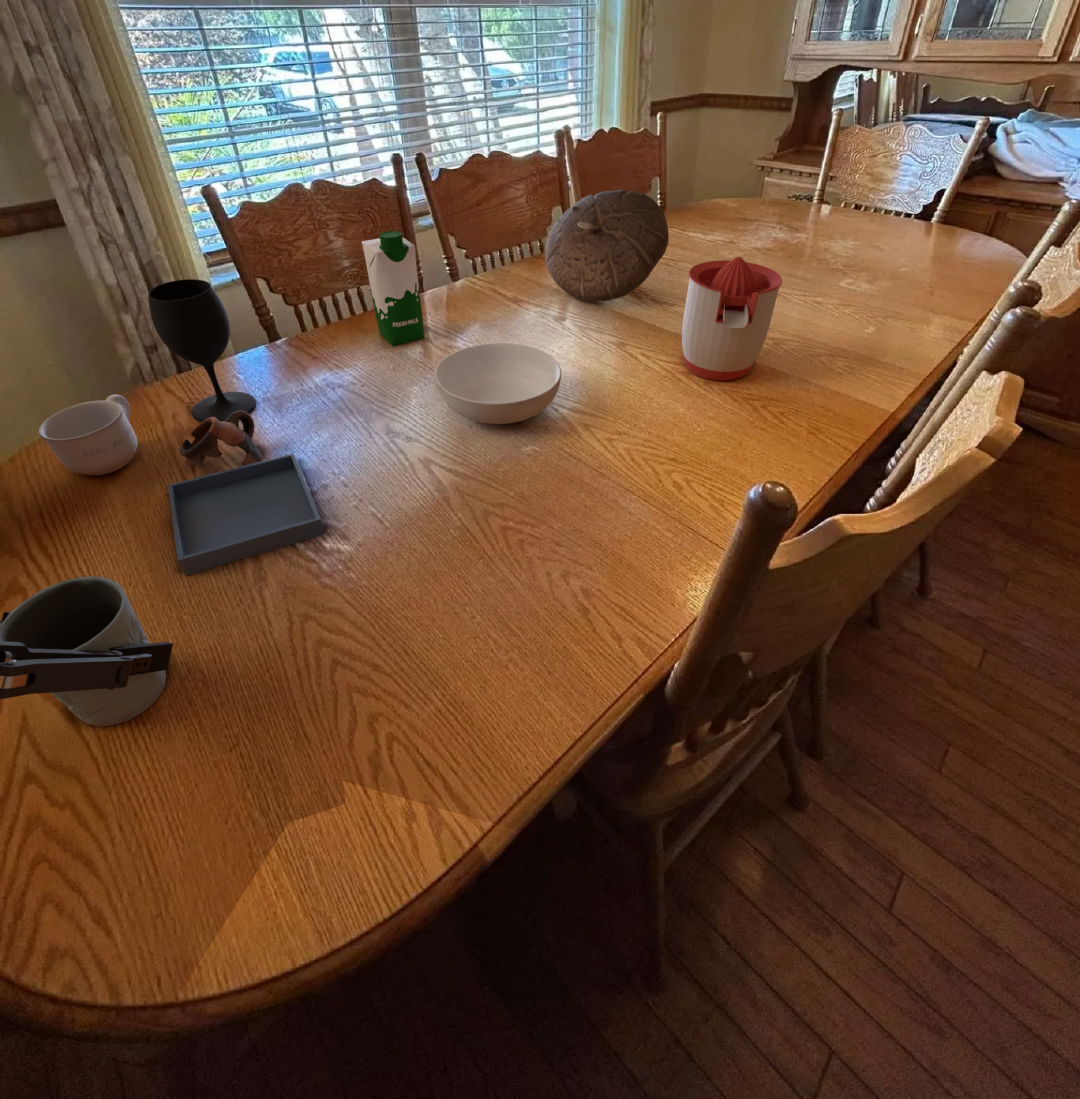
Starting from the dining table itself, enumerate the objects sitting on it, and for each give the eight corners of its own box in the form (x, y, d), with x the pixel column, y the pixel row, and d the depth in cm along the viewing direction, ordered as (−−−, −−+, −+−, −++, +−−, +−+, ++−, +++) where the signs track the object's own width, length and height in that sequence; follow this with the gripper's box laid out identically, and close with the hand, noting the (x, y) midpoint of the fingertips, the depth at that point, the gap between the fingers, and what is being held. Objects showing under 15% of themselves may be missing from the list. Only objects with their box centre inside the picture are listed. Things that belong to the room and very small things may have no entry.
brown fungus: (520, 302, 144) (520, 181, 138) (576, 310, 162) (578, 204, 155) (628, 294, 128) (634, 157, 122) (677, 304, 146) (684, 185, 139)
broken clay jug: (248, 488, 92) (199, 450, 86) (211, 498, 97) (163, 463, 91) (283, 428, 98) (240, 389, 92) (247, 440, 103) (204, 405, 97)
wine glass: (269, 400, 109) (232, 283, 96) (225, 430, 102) (177, 307, 89) (224, 388, 113) (181, 273, 99) (178, 416, 106) (125, 296, 92)
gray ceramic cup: (177, 643, 70) (129, 565, 62) (172, 717, 63) (118, 641, 55) (73, 669, 67) (10, 591, 59) (56, 750, 60) (-18, 674, 52)
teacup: (105, 491, 90) (78, 443, 85) (47, 476, 93) (17, 429, 87) (175, 440, 100) (155, 395, 95) (122, 428, 103) (98, 383, 97)
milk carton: (390, 349, 124) (372, 241, 111) (373, 333, 130) (354, 228, 117) (430, 339, 128) (418, 233, 114) (413, 324, 133) (399, 221, 120)
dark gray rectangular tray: (174, 499, 89) (167, 484, 87) (298, 467, 95) (294, 452, 93) (185, 576, 78) (177, 560, 76) (325, 534, 83) (320, 519, 82)
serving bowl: (419, 429, 103) (413, 391, 98) (464, 372, 117) (461, 336, 113) (542, 449, 98) (542, 409, 94) (573, 386, 113) (574, 350, 109)
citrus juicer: (676, 389, 113) (695, 274, 99) (672, 347, 125) (689, 240, 112) (765, 395, 111) (797, 279, 98) (753, 351, 124) (779, 243, 110)
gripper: (-282, 681, 45) (32, 652, 67) (-48, 771, 40) (208, 708, 62) (-256, 578, 45) (48, 583, 67) (-21, 655, 40) (225, 633, 62)
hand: (125, 643), depth 64 cm, fingers closed on gray ceramic cup, 10 cm apart
